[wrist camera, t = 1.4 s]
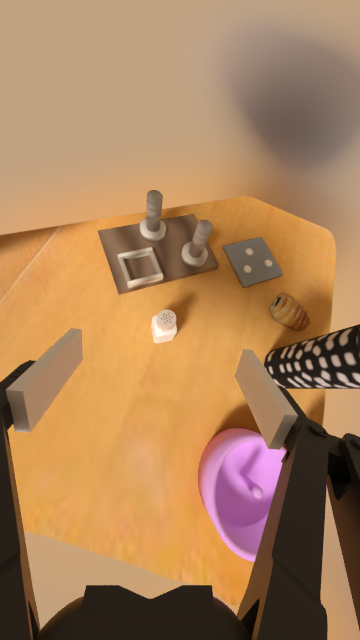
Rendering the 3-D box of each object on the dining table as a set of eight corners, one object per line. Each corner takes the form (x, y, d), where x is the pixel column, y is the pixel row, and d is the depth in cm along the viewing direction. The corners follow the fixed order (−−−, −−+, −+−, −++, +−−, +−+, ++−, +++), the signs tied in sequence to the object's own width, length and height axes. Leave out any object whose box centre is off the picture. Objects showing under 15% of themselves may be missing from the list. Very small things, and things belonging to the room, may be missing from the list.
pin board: (119, 294, 42) (111, 265, 32) (98, 234, 46) (86, 192, 36) (217, 268, 49) (236, 237, 39) (192, 217, 53) (203, 177, 43)
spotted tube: (259, 351, 44) (345, 324, 25) (292, 347, 45) (395, 318, 27) (270, 391, 41) (375, 394, 23) (304, 385, 43) (428, 382, 24)
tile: (243, 287, 48) (244, 285, 47) (222, 247, 51) (223, 245, 50) (281, 275, 52) (284, 273, 51) (260, 238, 54) (262, 236, 54)
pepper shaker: (169, 322, 42) (176, 305, 33) (173, 340, 41) (181, 327, 32) (150, 325, 41) (152, 308, 33) (154, 344, 40) (156, 331, 31)
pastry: (308, 317, 49) (320, 311, 46) (298, 338, 47) (310, 334, 43) (276, 294, 50) (286, 287, 46) (264, 314, 47) (274, 308, 44)
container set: (209, 545, 32) (250, 645, 19) (189, 438, 36) (213, 464, 24) (335, 495, 37) (430, 549, 25) (305, 408, 41) (373, 416, 29)
